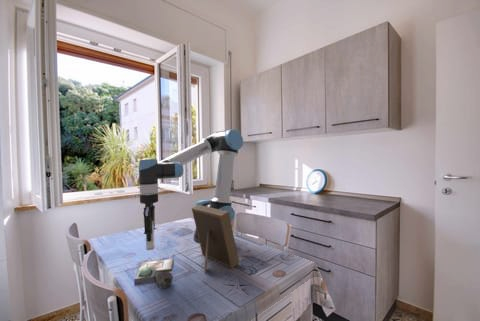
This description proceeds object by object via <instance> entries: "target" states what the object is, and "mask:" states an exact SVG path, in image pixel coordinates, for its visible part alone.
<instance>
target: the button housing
mask: <svg viewBox="0 0 480 321" xmlns="http://www.w3.org/2000/svg"><path fill="white" fill-rule="evenodd" d="M137 271H138V272H137ZM137 271H136V273H137V274H136V275H135V277H134V281H133V282H134V285H138V284H147V283H153V282H155V280H156V279H155V278H154V275H155V273H156V268H154V269H151V276H143V277H140V270H137Z"/></svg>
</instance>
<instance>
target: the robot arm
mask: <svg viewBox="0 0 480 321" xmlns="http://www.w3.org/2000/svg"><path fill="white" fill-rule="evenodd" d="M243 146H244V137H243V136H242V133H241V132H240V131H239V130H237V129H235V128H234V129H233V128H231V129H226V130H225V129H224V130H219V131H215V132H214V133H212V134H210V135H208V136H206V137H205V138H202V139H201V140H200V141H199V142H198V143H194V144H193V145H191V146H189V147H187V148H185V149H183V150H181V151H179V152H176V153H175V154H172V155H170V156H168V157H166V158H164V159H162V160H159V161H158V159H157V158H141V159H140V160H139V161H138V175H139V176H138V177H139V178H138V180H139V186H138V187H137V188H138V189H139V194H140V195H139V202H140V204H142V205H144V207H143V212H142V213H143V224H144V225H143V227H144V232H143V235H145V250H147V249H150V248H153V233H152V220H153V222H154V231H155V230H157V228H156V219H155V214H156V212H155V211H156V210H155V209H156V206H155V205H154V204H155V203H159V180H163V179H164V180H165V179H179V178H181V177H182V176H183V174H184V165H187V164H188V163H191V162H193V161H195V160H197V159H198V158H200V157H203V156H204V155H206V154H207V155H210V154H212V153H215V152H217V153H218V155H219V158H218V165H217V174H216V181H215V188H214V196H213V197H212V198H211V199H209V198H208V199H203V200H202V199H201V200H197V201H196V202H195V207H196V206H198V205H202V206H206V207H211V208H215V209H220V210H224V211H229V216H230V221H231V223H233V221H234V218H235V210H234V208H233V207H232V205H233V204H232V201H231V200H230V197H231V187H232V183H233V182H232V180H233V174H234V173H233V172H234V165H235V159H236V158H235V157H237V156H238V154H239V150H241V148H242V147H243ZM193 241H194V242H196V243H200V242H199V238H198V233H197V229H196V228H195V229H194V233H193ZM155 244H156V243H154V245H155Z"/></svg>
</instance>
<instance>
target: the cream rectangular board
mask: <svg viewBox="0 0 480 321" xmlns="http://www.w3.org/2000/svg"><path fill="white" fill-rule="evenodd" d="M173 264H174V259H173V258H170V259H169V258H168V259H163V260H153V261H144V262H141V263H140V265H139V267H138V270H141V269H142V268H145V267H150V268H151V269H154V268H156V272H158V271H159V272H166V271H167V272H171V271H172V270H173ZM138 270H137V271H136V274H137V272H138Z"/></svg>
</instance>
